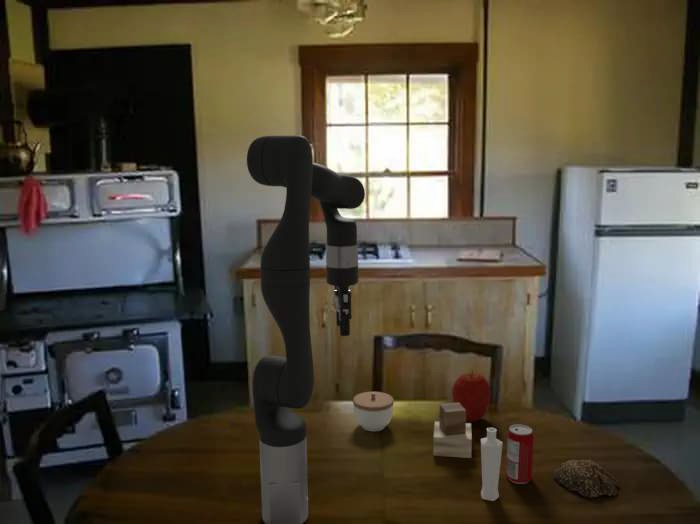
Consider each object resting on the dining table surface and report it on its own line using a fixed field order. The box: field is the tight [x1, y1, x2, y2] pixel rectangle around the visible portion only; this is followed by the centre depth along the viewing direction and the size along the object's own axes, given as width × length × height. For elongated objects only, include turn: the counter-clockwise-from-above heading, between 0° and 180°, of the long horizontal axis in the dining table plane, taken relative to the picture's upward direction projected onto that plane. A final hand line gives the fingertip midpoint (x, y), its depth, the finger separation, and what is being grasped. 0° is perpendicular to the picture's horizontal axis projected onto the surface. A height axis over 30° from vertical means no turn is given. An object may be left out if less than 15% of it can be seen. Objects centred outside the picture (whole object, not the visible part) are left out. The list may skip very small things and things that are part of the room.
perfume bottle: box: [480, 427, 504, 502], centre depth 133 cm, size 5×4×15 cm
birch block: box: [432, 420, 473, 459], centre depth 156 cm, size 9×9×5 cm
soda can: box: [505, 423, 534, 485], centre depth 140 cm, size 6×6×12 cm
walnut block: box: [438, 402, 467, 436], centre depth 154 cm, size 5×5×6 cm
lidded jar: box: [352, 391, 395, 432], centre depth 168 cm, size 11×11×9 cm
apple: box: [451, 370, 492, 423], centre depth 171 cm, size 10×10×14 cm
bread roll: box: [553, 459, 619, 499], centre depth 139 cm, size 13×12×5 cm
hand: (343, 330), depth 151 cm, fingers open, 8 cm apart
